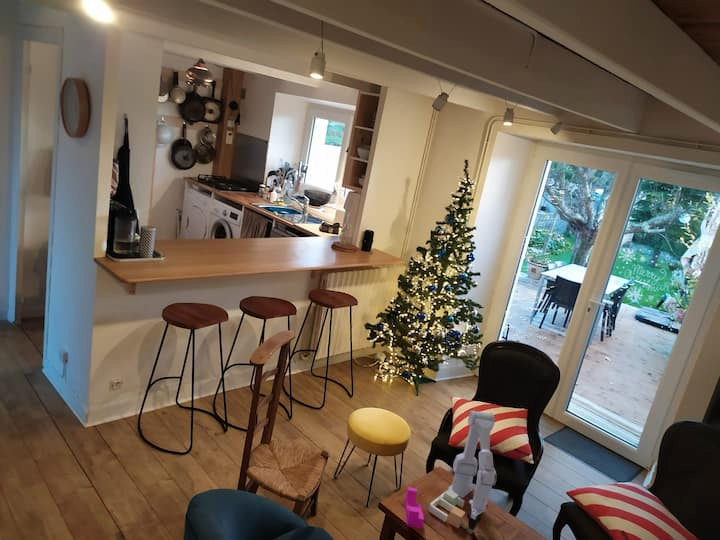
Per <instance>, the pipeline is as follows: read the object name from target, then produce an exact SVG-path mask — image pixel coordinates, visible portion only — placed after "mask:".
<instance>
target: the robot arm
mask: <svg viewBox="0 0 720 540" xmlns="http://www.w3.org/2000/svg"><path fill="white" fill-rule="evenodd" d="M495 421H496V418H495V415H494V414H493V413H491V412H490V413H488V412H481V411H478V410H477V411H475V410H471V411H470V412H469V416H468V418H467V424H469V425H470V426H469V430H468V434H467V438H466V443H465V446H464V450H463V452H462V453H459V454H456V456H455V459H454V460H453V465H452V470H453V473H454V476H453V480H452V484H451V485H450V486H448V487H447V490H448V489H450V490H451V491H453V492H455V493H456V494H458V495H459V496H458V497H459V498H461V499H463V498H464V497H466V496H467V495H468V494H469V493H470V492H472V491H473V489H472V488H471V487H472V484H473V480H474V477H475V476H476V486H475V491H474V493H473V498H472V499H470V500H469V502H468V503H469V504H470V506H471V511H470V510H468V512H467V514H466V516H467V519H468V525H469V529H471V530H474V529H476V527H477V525H478V523H480V521H482V516H483V515H482V514H483V513H484V512H486V510H487V508H488V501H489V498H490V495H491V490H492V487H493V486H495V485H496V482H497V471H496V469H495V467H494V458H493V452H491V450H490V449H491V446H490V445H491V444H490V443H491V431H492V430H493V428H494V425H495ZM478 443H479V446H480V450H479V452H478V460H477V458H476V457H475V454H476V449H477V447H478ZM474 531H475V530H474Z"/></svg>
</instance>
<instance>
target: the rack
mask: <svg viewBox="0 0 720 540" xmlns="http://www.w3.org/2000/svg"><path fill="white" fill-rule="evenodd" d="M446 491H447V490H446ZM446 491H444V492H442V494H440V495H439V496H437V497H436V498H435V499H434V500H433V501H431V502H430V503H428V507H427V512H429V513H431V514H432V515H434V516H436V517H437V518H438V519H440V520H442V521H443V522H445V523H446V522H447V521H448V517H449V515H448V514H447V513H445V512H443V511H442V510H441V509H439V508H437V506H438V505H439V506H441V507H443V509H445V510H447V511H448V512H450V511H451V510H452V509H453V508H454V507H456V506H458V507H460V508H463V507H464V504H465V500H464V499H463V498H461V497H460V496H458V500H457V504H456V506H453V505H452V504H450V503H449V502H447V501H446V500H444V499H443V496H444V493H445V492H446Z"/></svg>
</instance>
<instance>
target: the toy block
mask: <svg viewBox="0 0 720 540" xmlns="http://www.w3.org/2000/svg"><path fill="white" fill-rule="evenodd" d="M417 495H418V489H417V488H415V487H411V486H410V487H407V491H406V495H405V499H404V507H405V521H406V522H405V523H406V526H407V527H412V528H418V529H422V528H423V525H424V521H425V519H424V518H425V517H424V513H423V510H422V504H421V503H416V502H417V501H416V500H417Z"/></svg>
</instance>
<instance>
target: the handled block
mask: <svg viewBox="0 0 720 540" xmlns="http://www.w3.org/2000/svg"><path fill="white" fill-rule="evenodd" d="M465 517H466V512H465V510H462V509H460V508H459V507H457V506H455V507H454V508H453V509H452V510H451V511H449V515H448V518H447V523H448V524H450V525H451V526H452V527H455V528H457V529H458V530H459V529H460V527H461V528H463V529H465V530H466V532H467V533H468V534H470V535H473V534H474V533H473V530H471V529H469V524H468V525H467V526H466V525H464V524H463V522H464V519H465ZM472 533H473V534H472Z"/></svg>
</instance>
